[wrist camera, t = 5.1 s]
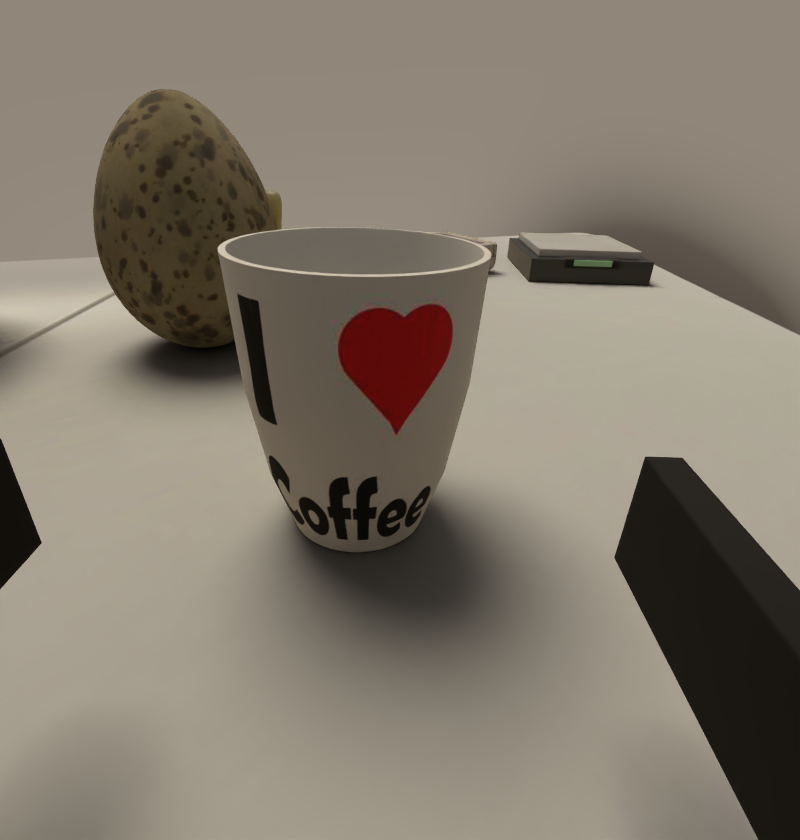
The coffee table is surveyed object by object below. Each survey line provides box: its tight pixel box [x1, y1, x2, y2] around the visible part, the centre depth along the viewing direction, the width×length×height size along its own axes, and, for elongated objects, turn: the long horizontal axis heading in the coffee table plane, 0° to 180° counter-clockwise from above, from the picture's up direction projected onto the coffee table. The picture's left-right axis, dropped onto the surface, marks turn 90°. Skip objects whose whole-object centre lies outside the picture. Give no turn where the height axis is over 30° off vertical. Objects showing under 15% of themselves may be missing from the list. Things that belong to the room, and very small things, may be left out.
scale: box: [508, 233, 654, 285], centre depth 60 cm, size 13×13×3 cm
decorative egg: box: [93, 89, 278, 348], centre depth 32 cm, size 11×11×15 cm
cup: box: [218, 227, 491, 552], centre depth 18 cm, size 8×8×10 cm
